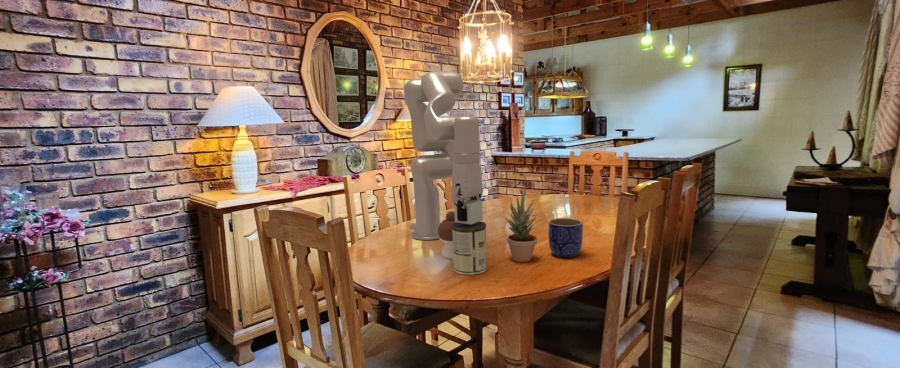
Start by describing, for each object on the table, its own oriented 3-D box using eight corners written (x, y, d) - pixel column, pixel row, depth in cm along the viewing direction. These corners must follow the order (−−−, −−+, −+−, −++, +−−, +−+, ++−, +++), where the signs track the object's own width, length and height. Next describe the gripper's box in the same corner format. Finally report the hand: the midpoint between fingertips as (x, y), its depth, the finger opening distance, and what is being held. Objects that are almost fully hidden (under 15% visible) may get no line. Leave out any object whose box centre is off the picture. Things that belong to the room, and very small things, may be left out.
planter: (546, 250, 155) (546, 218, 153) (578, 249, 154) (578, 217, 153) (551, 260, 144) (551, 226, 143) (586, 259, 144) (586, 225, 142)
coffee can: (459, 262, 145) (457, 219, 143) (490, 265, 142) (489, 221, 139) (448, 273, 135) (447, 227, 133) (481, 276, 132) (480, 229, 130)
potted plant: (530, 265, 140) (530, 186, 136) (502, 261, 145) (501, 185, 141) (542, 256, 148) (541, 182, 144) (515, 252, 153) (514, 180, 149)
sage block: (454, 222, 136) (454, 202, 135) (466, 217, 140) (465, 198, 139) (471, 224, 132) (471, 204, 131) (482, 220, 137) (482, 200, 136)
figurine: (438, 259, 148) (437, 215, 146) (438, 251, 158) (436, 209, 155) (468, 258, 149) (467, 213, 147) (466, 249, 158) (464, 207, 156)
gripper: (472, 155, 142) (473, 211, 145) (439, 161, 129) (441, 223, 131) (493, 156, 138) (494, 214, 141) (460, 162, 124) (462, 226, 127)
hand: (468, 218), depth 136 cm, fingers closed on sage block, 5 cm apart
